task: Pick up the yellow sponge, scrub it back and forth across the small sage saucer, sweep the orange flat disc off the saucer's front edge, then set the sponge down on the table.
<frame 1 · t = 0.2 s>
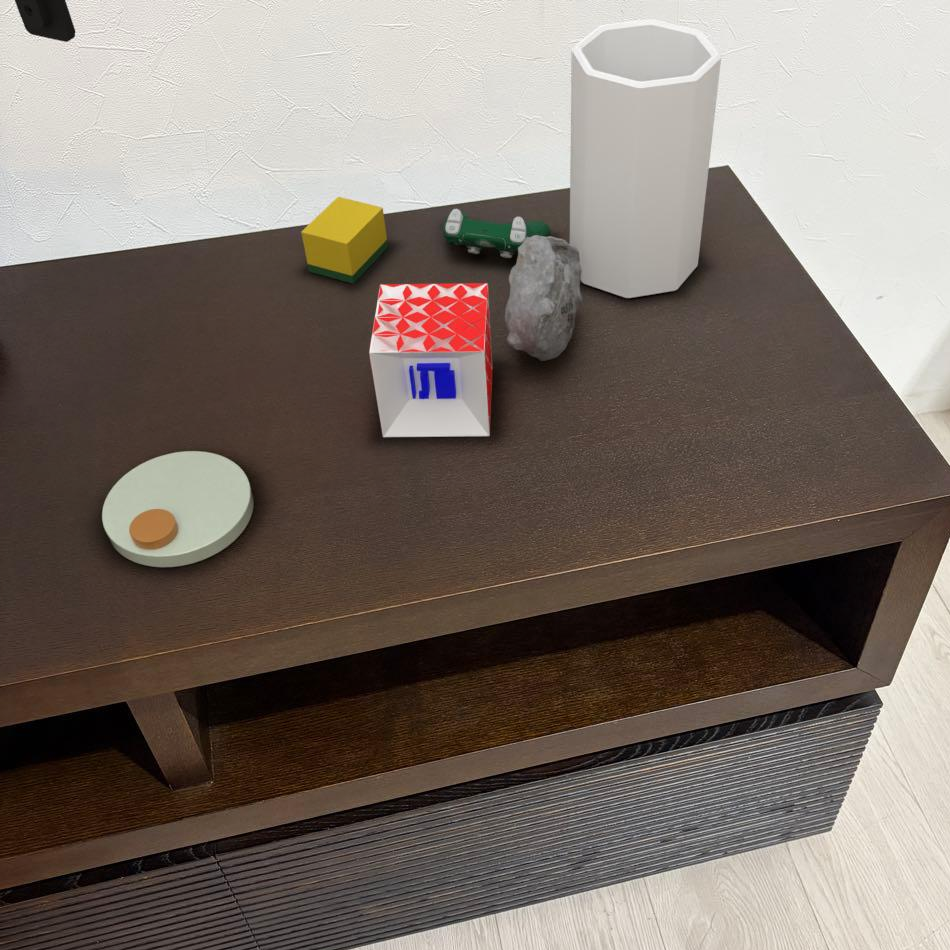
hand: (107, 2, 65), 28 cm above the table, tool pointing down, fingers open, 9 cm apart
stone: (546, 351, 88), on the table
gaming controller: (494, 250, 97), on the table
plate: (181, 512, 76), on the table
sponge: (349, 259, 96), on the table
orange flat disc: (155, 532, 73), point 1 cm above the table, touching plate
puzzle cube: (439, 403, 84), on the table
cup: (633, 263, 96), on the table
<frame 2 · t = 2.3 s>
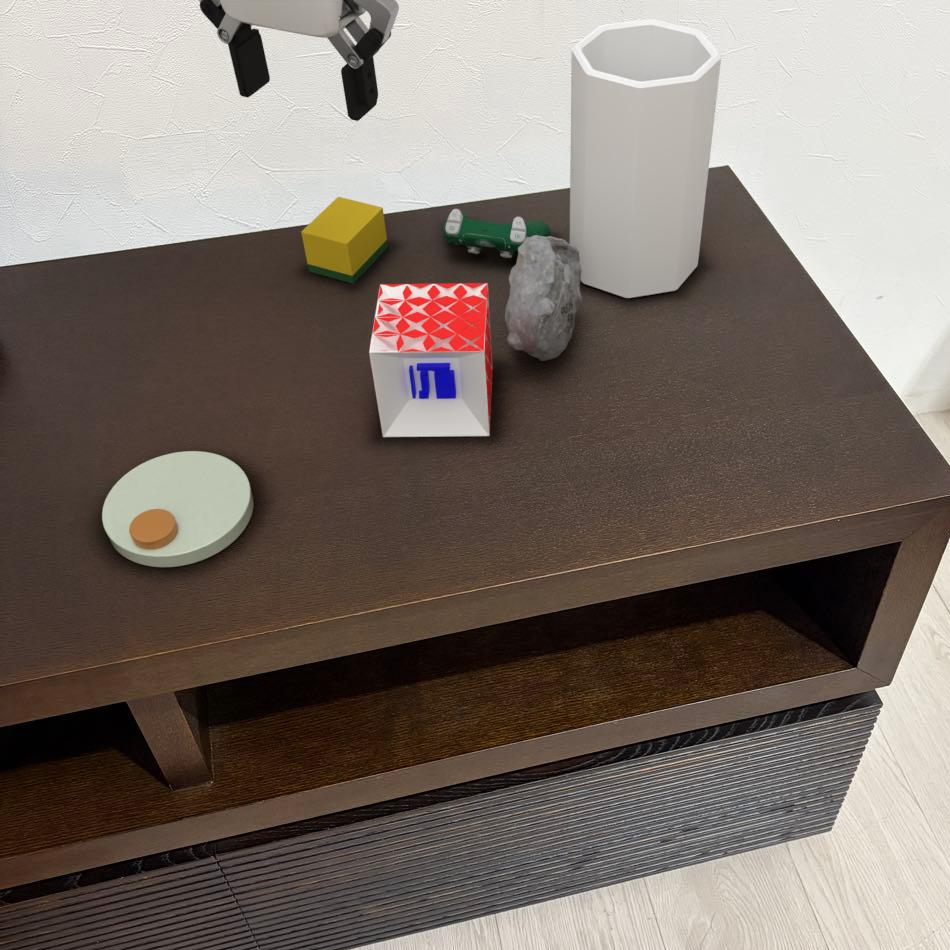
hand: (308, 100, 84), 15 cm above the table, tool pointing down, fingers open, 9 cm apart
nothing on the table moved.
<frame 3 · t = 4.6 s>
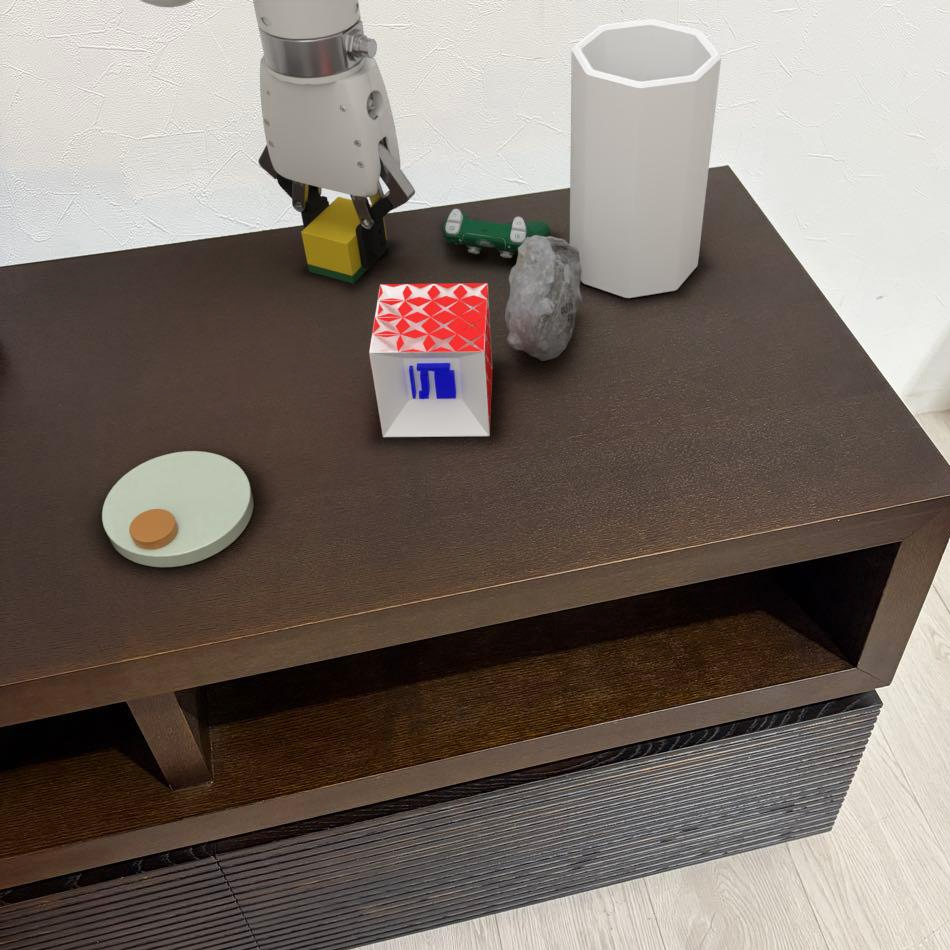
hand: (347, 251, 96), 1 cm above the table, tool pointing down, fingers closed on sponge, 4 cm apart
sponge: (349, 259, 96), on the table, touching gripper
everything else where it was.
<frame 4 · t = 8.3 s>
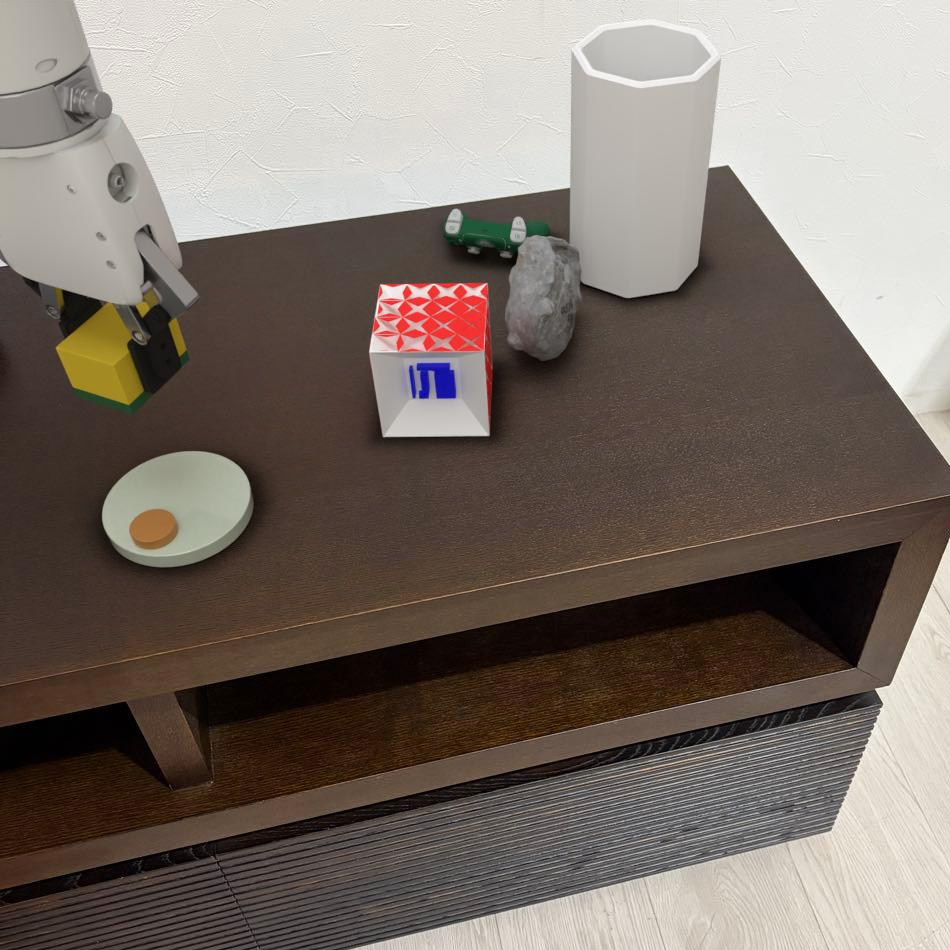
hand: (130, 367, 71), 10 cm above the table, tool pointing down, fingers closed on sponge, 4 cm apart
sponge: (134, 378, 72), point 9 cm above the table, touching gripper
everything else where it was.
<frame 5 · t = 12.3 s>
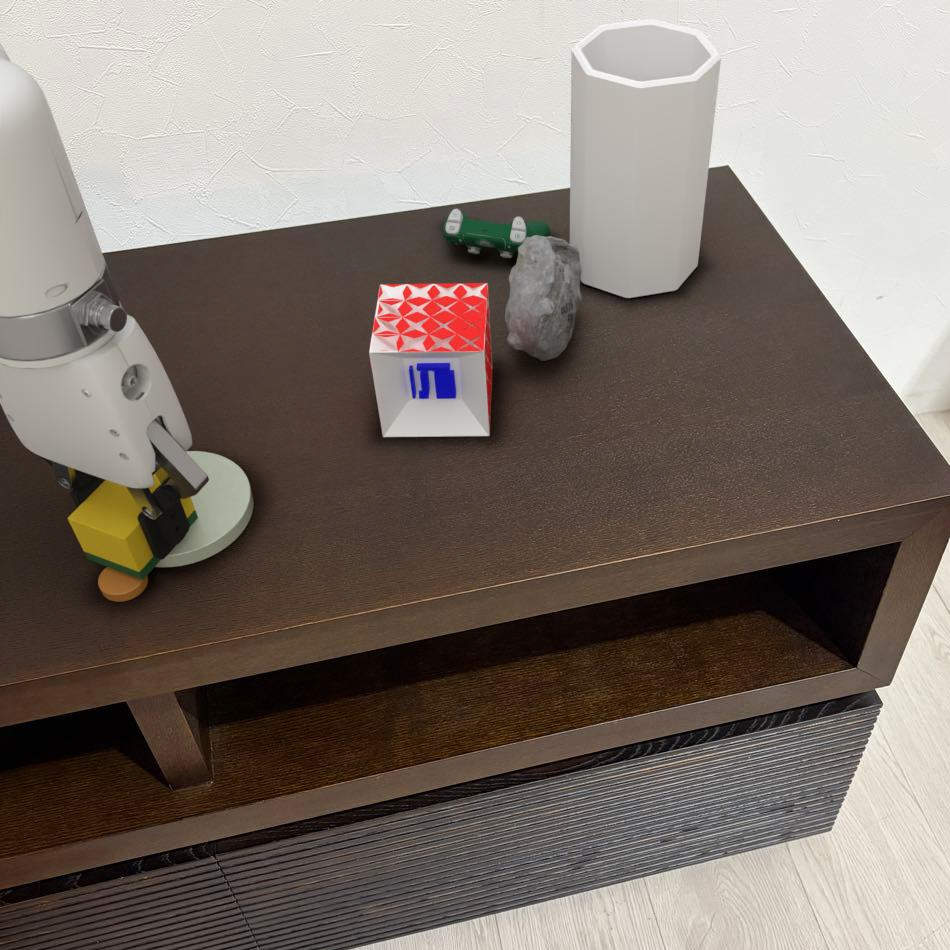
hand: (139, 529, 72), 2 cm above the table, tool pointing down, fingers closed on sponge, 4 cm apart
sponge: (143, 538, 73), point 1 cm above the table, touching gripper
orange flat disc: (125, 584, 72), on the table
everything else where it was.
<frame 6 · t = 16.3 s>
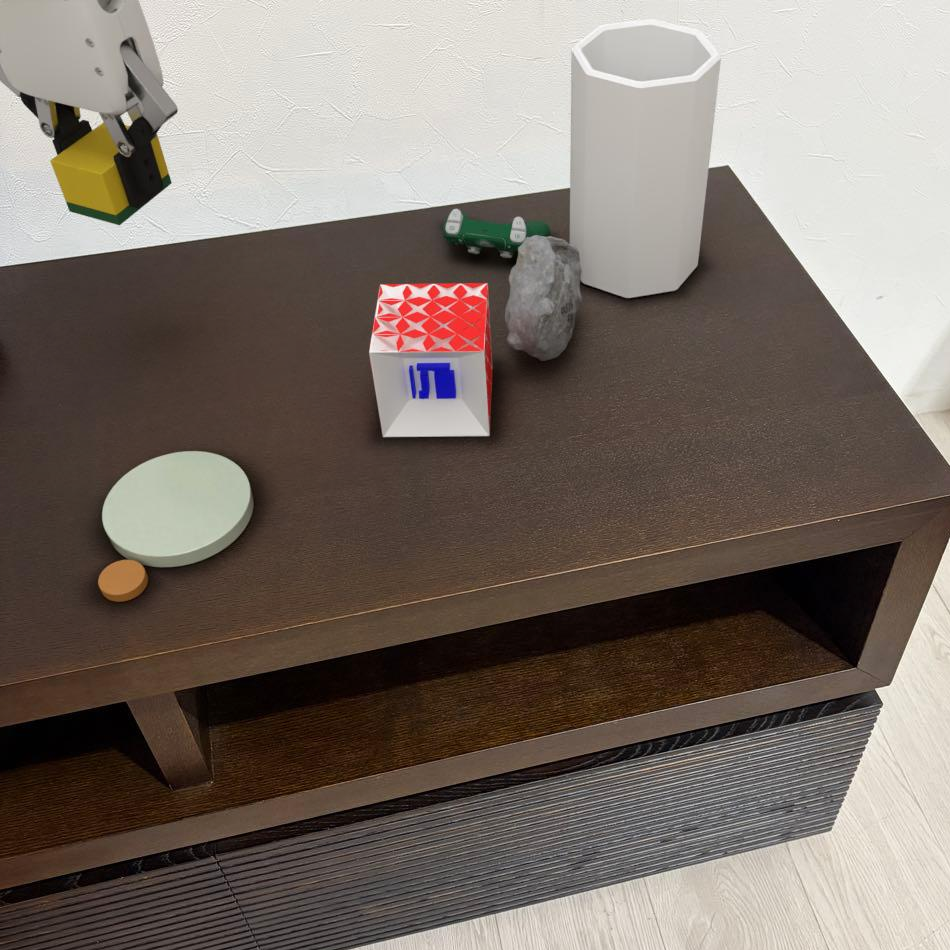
hand: (117, 187, 79), 14 cm above the table, tool pointing down, fingers closed on sponge, 4 cm apart
sponge: (121, 197, 79), point 13 cm above the table, touching gripper
everything else where it was.
when the fingers open (1 cm above the table, at t = 19.3 s): sponge stays where it is, on the table.
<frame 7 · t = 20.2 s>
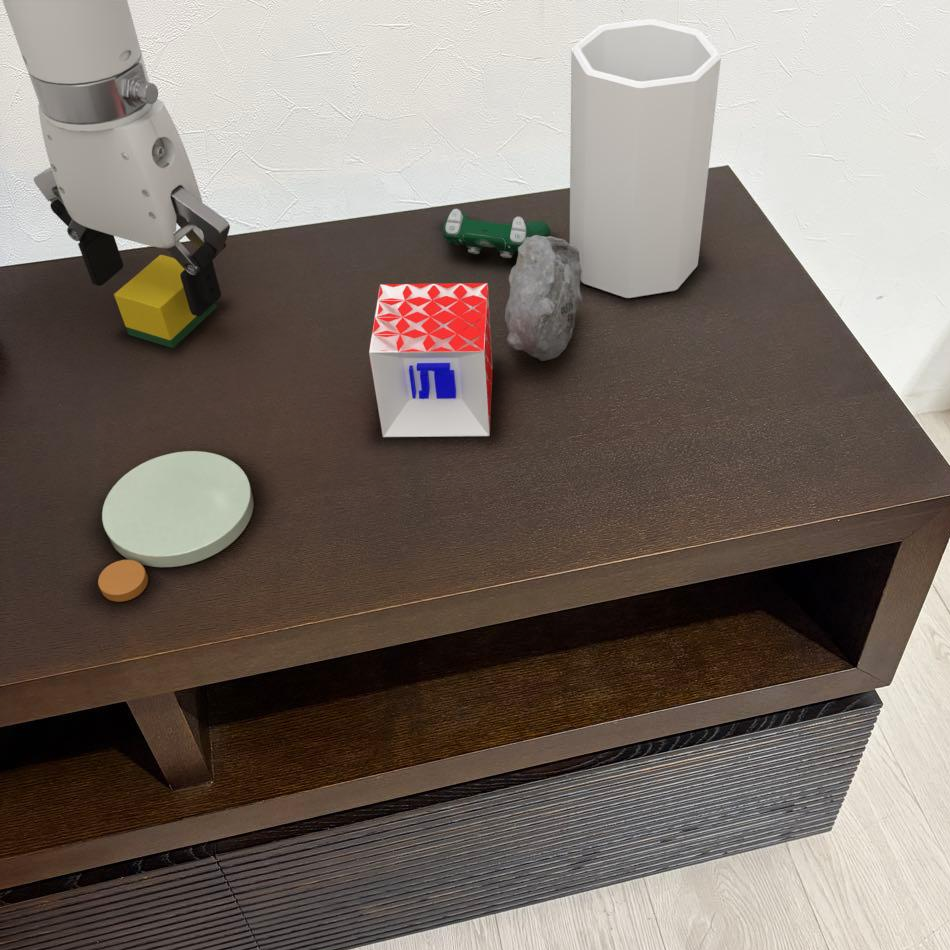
hand: (157, 291, 89), 3 cm above the table, tool pointing down, fingers open, 9 cm apart
sponge: (173, 320, 91), on the table
everything else where it was.
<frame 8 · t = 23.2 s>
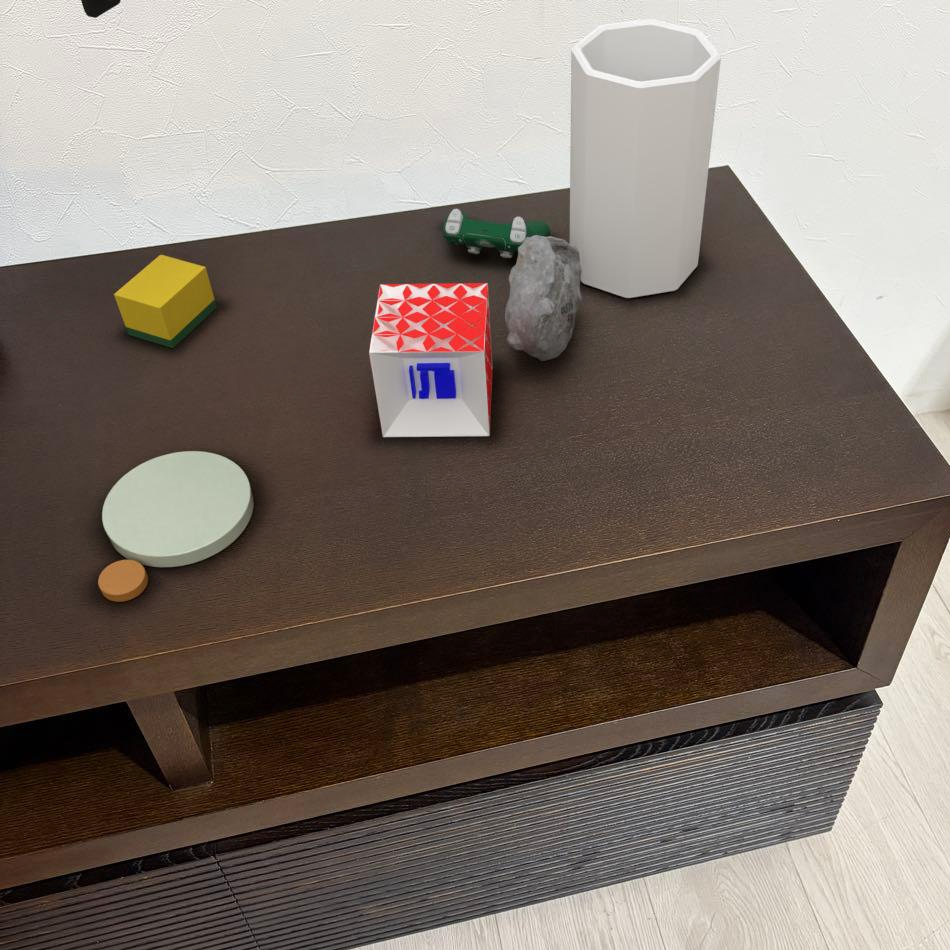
nothing on the table moved.
at the end: orange flat disc on the table; sponge inside the target area (0.1 cm from its centre), on the table; the gripper is holding nothing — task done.
